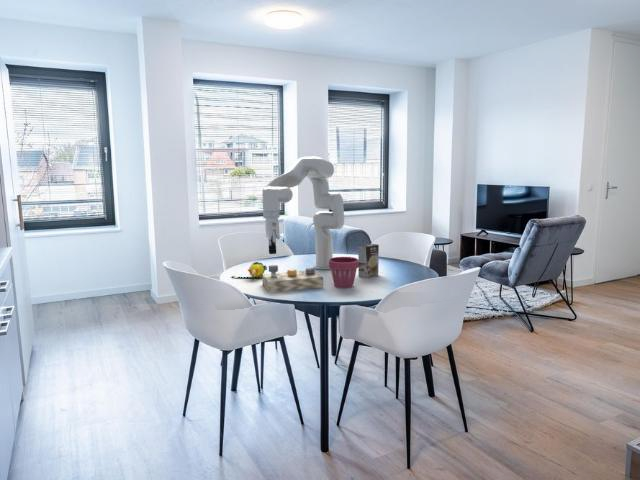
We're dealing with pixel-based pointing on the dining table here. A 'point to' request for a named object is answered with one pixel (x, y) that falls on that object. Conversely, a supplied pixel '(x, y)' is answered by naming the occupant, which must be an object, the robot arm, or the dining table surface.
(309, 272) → the knob
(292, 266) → the dining table surface
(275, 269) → the knob
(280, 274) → the console
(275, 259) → the dining table surface
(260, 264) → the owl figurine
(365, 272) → the coffee box
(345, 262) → the plant pot
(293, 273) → the knob mid
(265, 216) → the robot arm
